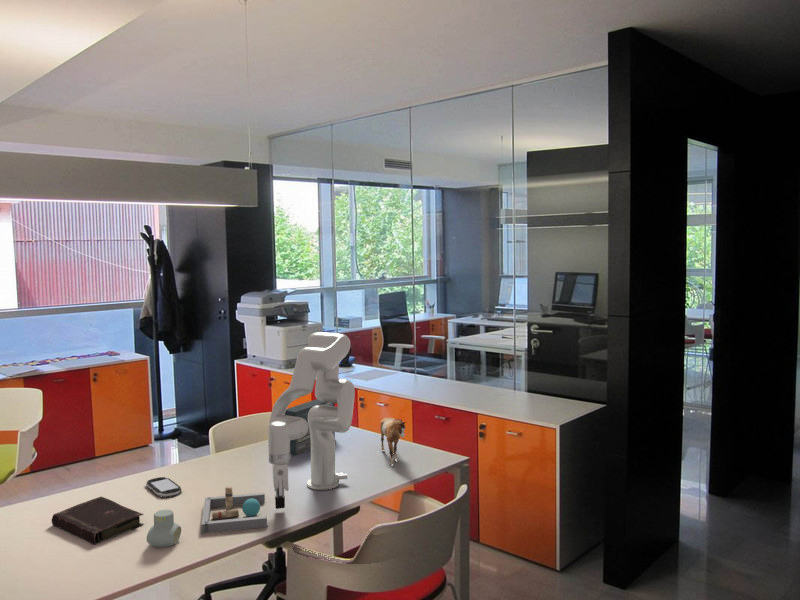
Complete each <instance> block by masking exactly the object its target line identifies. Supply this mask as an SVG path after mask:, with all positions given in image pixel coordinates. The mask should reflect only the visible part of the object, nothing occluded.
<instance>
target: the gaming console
mask: <svg viewBox="0 0 800 600" xmlns="http://www.w3.org/2000/svg"><path fill="white" fill-rule="evenodd" d="M145 483H146V487H147V488H148V489H149V490H150V491H151V492H152V493H154V494H155V495H157V497H159V496H162V497H161V498H163V497H166V498H171V497H170V496H172V497H176V496H178V495H180V494H181V493H182V486H180V485H178V483H176V482H175V481H174V480H172V479H171V478H170V477H165V476H161V477H155V478H151V479H148V480H147V481H146V482H145ZM175 495H176V496H175Z"/></svg>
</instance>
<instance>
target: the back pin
mask: <svg viewBox="0 0 800 600" xmlns="http://www.w3.org/2000/svg"><path fill="white" fill-rule="evenodd" d="M224 491H225V492H224V493H225V495H224V496H225V498H226V506H225V511H227V510H234V509H233V506H234V505H233V497H232V495H234V494H233V487H232V486H231V485H229V486H226V487H225V488H224Z"/></svg>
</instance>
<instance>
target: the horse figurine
mask: <svg viewBox="0 0 800 600" xmlns="http://www.w3.org/2000/svg"><path fill="white" fill-rule="evenodd" d="M406 423H407V422H406V421H405V422H404V421H403V419H400V418H396V419H395V418H394V417H389V416H388V417H385V418H383V419H381V421H380V423H379V424H380V425H379V428H380V430H379V431H380V441H381V446H380V447H381V450H385V448H384V446H385V444H384V440H385V438H384V437H386V441H387V445H388V450H389V455H390V463H389V464H391V465H392V464H394V459H397V460H398V458H397V453H396V452H397V448H398V447H397V445H398V442H399V439H400V438H402V439H403V438H404V437H405V429H406V425H405V424H406ZM393 453H394V454H393ZM393 457H394V458H393Z"/></svg>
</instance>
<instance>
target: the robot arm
mask: <svg viewBox="0 0 800 600" xmlns="http://www.w3.org/2000/svg"><path fill="white" fill-rule="evenodd" d="M307 342H308V343H307V344H308V346H307V347H303V348H302V349H300V350H299V352H298V354H297V358H296V361H295V365H294V369H293V372H292V377H291V381H290V384H289V387H288V388H287V389H285V390H284V391H283V392H282V393H281V394H280V396H278V398H277V399H276V400H275V402H274V404H273V405H272V410H271V413H270V417H269V422H268V423H269V424H268V426H267V437H268V438H267V442H268V463H269V464H271V466H272V467H271V469H272V470H271V471H272V473H271V474H272V475H271V476H272V484H273V489H274V492H275V498H274V501H275V502H274V503H275V509H276V510H278V509H285V507H286V502H285V501H286V499H285V491H286V492H288V491H290V490H289V488H290V487H289V464H288V463H290V462H291V454H290V441H291V440H294V439H299V438H302V437H303V436H305V435H306V433H307V431H308V424H309V429H310V437H311V449H310V478H309V479H308V480H307V481H306V485H307V487H308V488H309V489H312V490H315V491H328V489H329V490H333V489H335V488H337V487H339V485H340V480H347V479H348V474H347V473H345V474H344V473H343V472H339V473H338V472H337V471H336V440H335V439H336V437H335V438H334V435H333V433H332V432H335V433H340V434H341V433H347V432H348V431H349V430H350V428H351V426H352V423H353V422H352V421H353V415H354V414H353V413H354V404H355V396H356V394H355V393H356V390H355V386H354V383H353V382H352V381H350V380H349V379H345V378H339V373H340V364H339V363H341V361H342V360H343V359H344V358H345V357H346V356H347V355H348V354H349V352H350V348H351V340H350V338H349V337H348V336H347V335H346V334H343V333H331V332H321V331H320V332H314V333H311V334H310V335H309V336H308V340H307ZM313 391H314V397H315V398H316V399H318V400H320V401H324V402H331V403H335V404H337V406H335V407H333V406H326V405H316V406H314V407H312V408H311V409H310V410H309V412H308V423H307V421H306V420H305V419H303V418H300V417H293V416H287V415H285V411H286V409H288V408H289V407H290V404H291V403H293V402H294V401H295V400H298V399H300V398H301V397H304V396H307V395H310V394H312V392H313ZM332 488H333V489H332Z"/></svg>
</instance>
